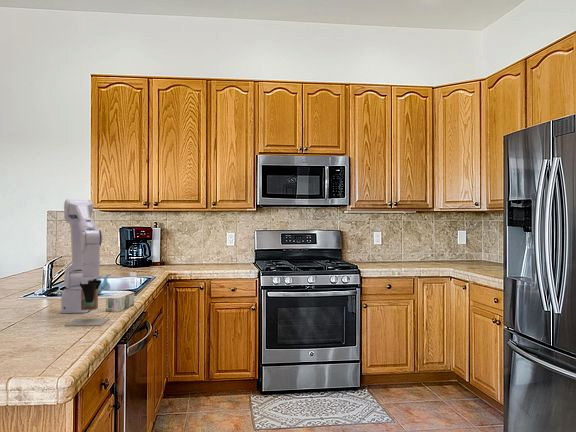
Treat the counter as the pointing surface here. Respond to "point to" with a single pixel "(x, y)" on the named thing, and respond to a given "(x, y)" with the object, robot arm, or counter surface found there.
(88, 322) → the grey mat
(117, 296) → the syrup box
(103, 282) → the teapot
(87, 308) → the walnut slab
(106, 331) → the counter surface
